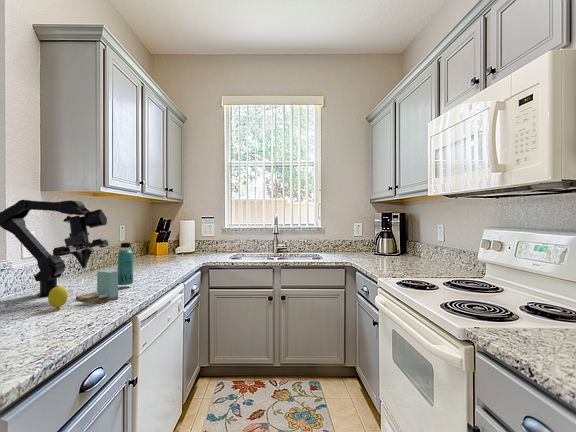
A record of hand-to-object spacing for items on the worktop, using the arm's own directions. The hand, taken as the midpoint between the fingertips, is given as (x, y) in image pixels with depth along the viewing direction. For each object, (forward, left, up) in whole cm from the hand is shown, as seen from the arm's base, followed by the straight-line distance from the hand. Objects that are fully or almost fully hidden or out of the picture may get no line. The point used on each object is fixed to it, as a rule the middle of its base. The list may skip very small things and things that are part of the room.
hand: (84, 268), depth 132 cm
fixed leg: (+15, +4, -10) cm, 18 cm away
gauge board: (+10, +2, -11) cm, 15 cm away
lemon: (+14, -12, -11) cm, 22 cm away
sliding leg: (+11, +3, -10) cm, 15 cm away
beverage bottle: (-5, +18, -11) cm, 21 cm away
